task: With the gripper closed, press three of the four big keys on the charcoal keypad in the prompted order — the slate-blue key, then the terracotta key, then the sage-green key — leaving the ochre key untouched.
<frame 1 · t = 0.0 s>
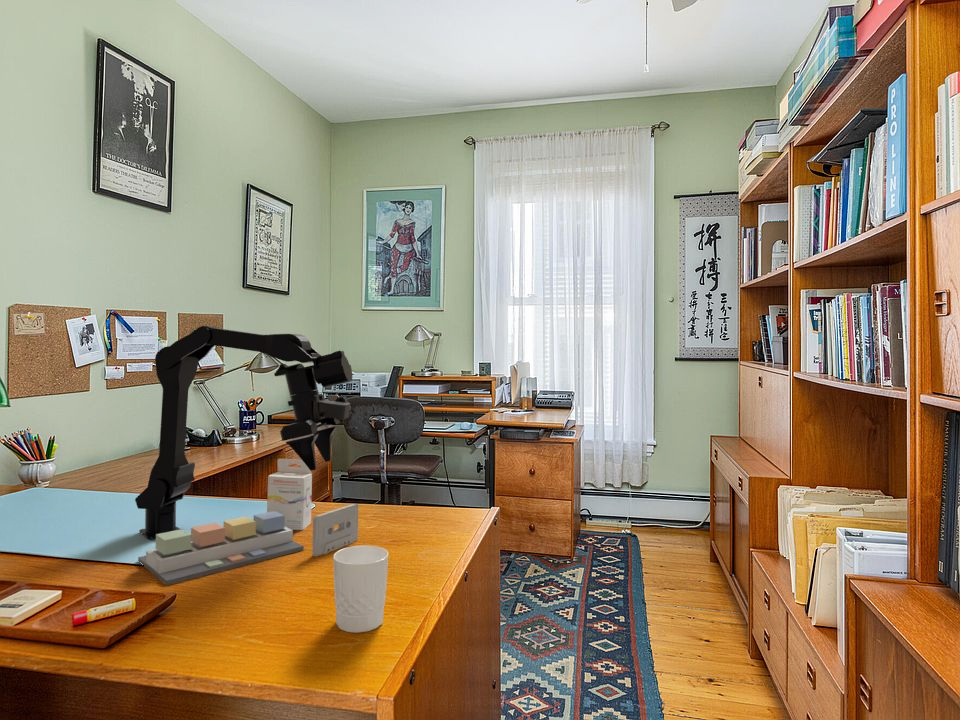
hand: (321, 465, 120), 15 cm above the table, tool pointing down, fingers open, 9 cm apart
cassette: (336, 548, 116), on the table
key ochre: (239, 527, 112), point 5 cm above the table, slide at 0.0 cm
white cup: (360, 623, 84), on the table
key slate: (269, 521, 117), point 5 cm above the table, slide at 0.0 cm
key terracotta: (207, 534, 108), point 5 cm above the table, slide at 0.0 cm
keypad base: (223, 555, 110), on the table
ink cartridge box: (289, 527, 129), on the table
key sage: (173, 541, 104), point 5 cm above the table, slide at 0.0 cm
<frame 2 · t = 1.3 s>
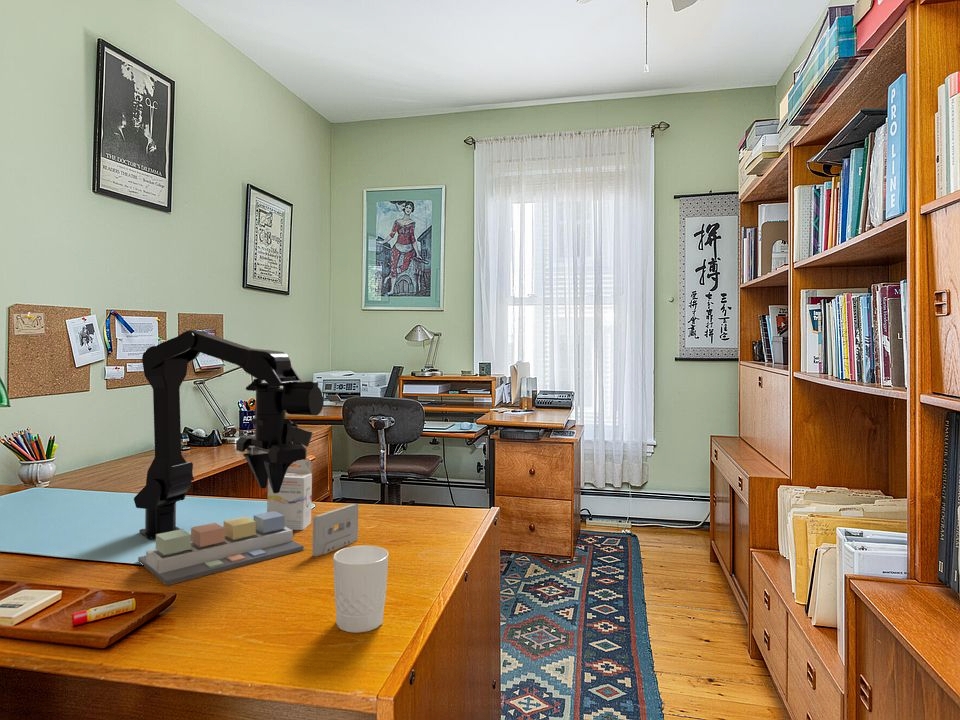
hand: (269, 490, 117), 11 cm above the table, tool pointing down, fingers open, 5 cm apart
nothing on the table moved.
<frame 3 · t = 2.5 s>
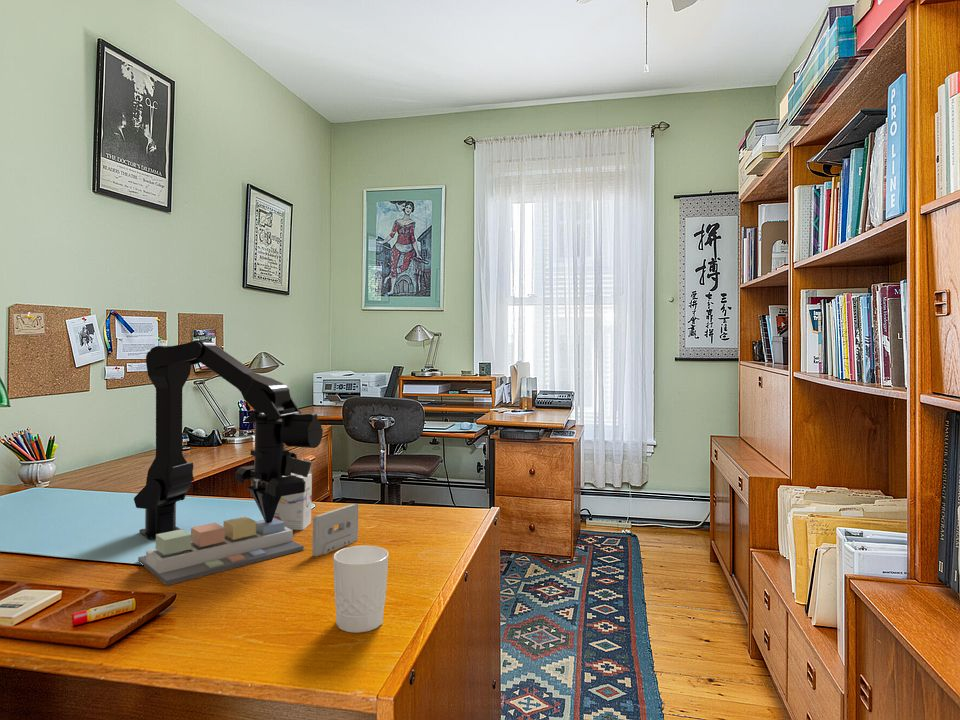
hand: (268, 522, 117), 5 cm above the table, tool pointing down, fingers closed, pressing on key slate
key slate: (268, 528, 117), point 3 cm above the table, slide at 1.4 cm, touching gripper
everything else where it was.
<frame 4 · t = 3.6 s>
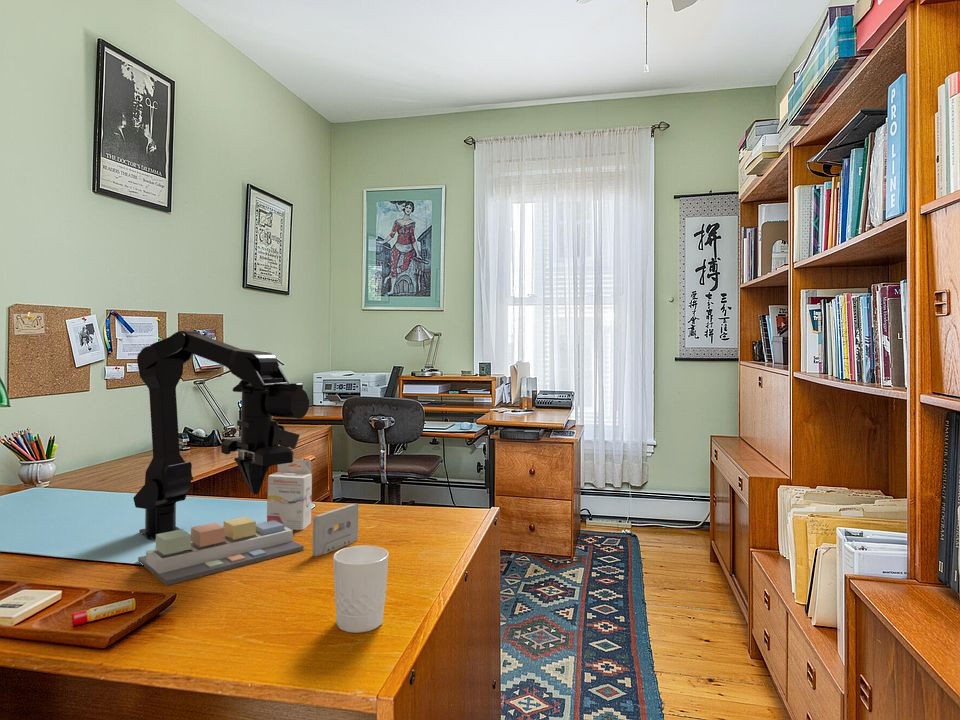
hand: (255, 493, 115), 11 cm above the table, tool pointing down, fingers closed
key slate: (268, 531, 117), point 3 cm above the table, slide at 1.9 cm
everything else where it was.
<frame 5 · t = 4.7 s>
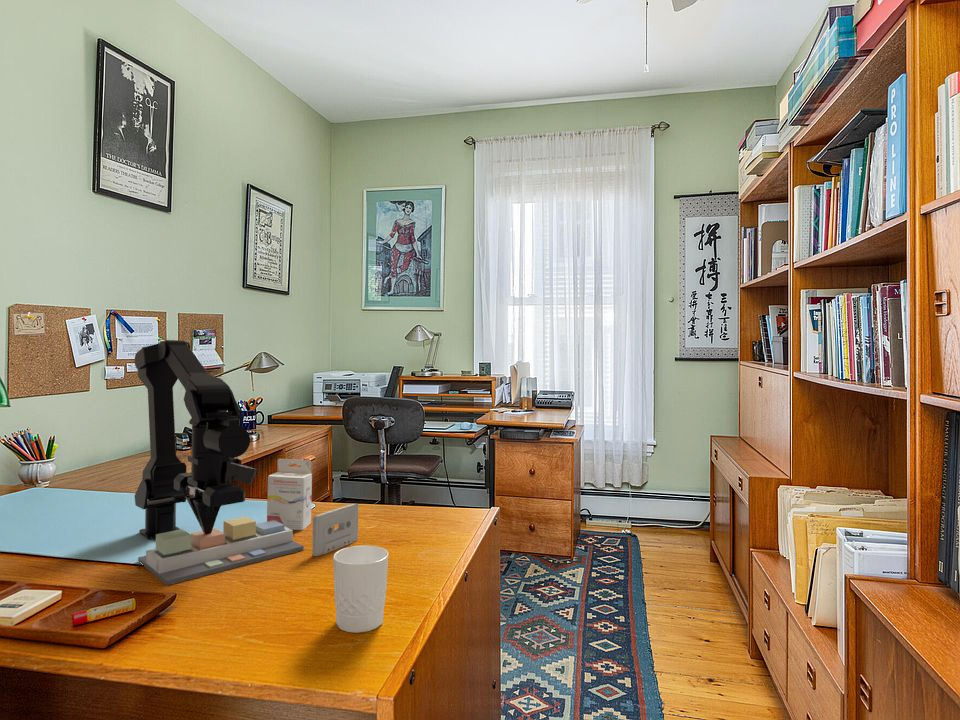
hand: (207, 533, 108), 5 cm above the table, tool pointing down, fingers closed, pressing on key terracotta
key terracotta: (207, 540, 108), point 4 cm above the table, slide at 1.1 cm, touching gripper
everything else where it was.
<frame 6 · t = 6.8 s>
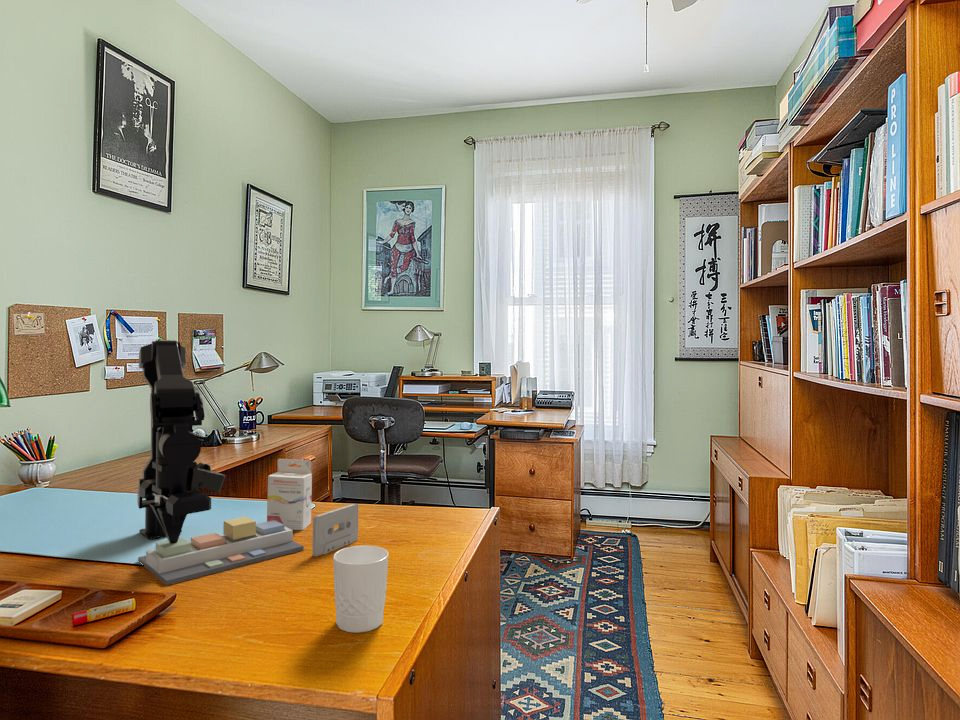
hand: (173, 542, 104), 4 cm above the table, tool pointing down, fingers closed, pressing on key sage
key terracotta: (207, 544, 108), point 3 cm above the table, slide at 1.9 cm
key sage: (173, 550, 104), point 3 cm above the table, slide at 1.5 cm, touching gripper
everything else where it was.
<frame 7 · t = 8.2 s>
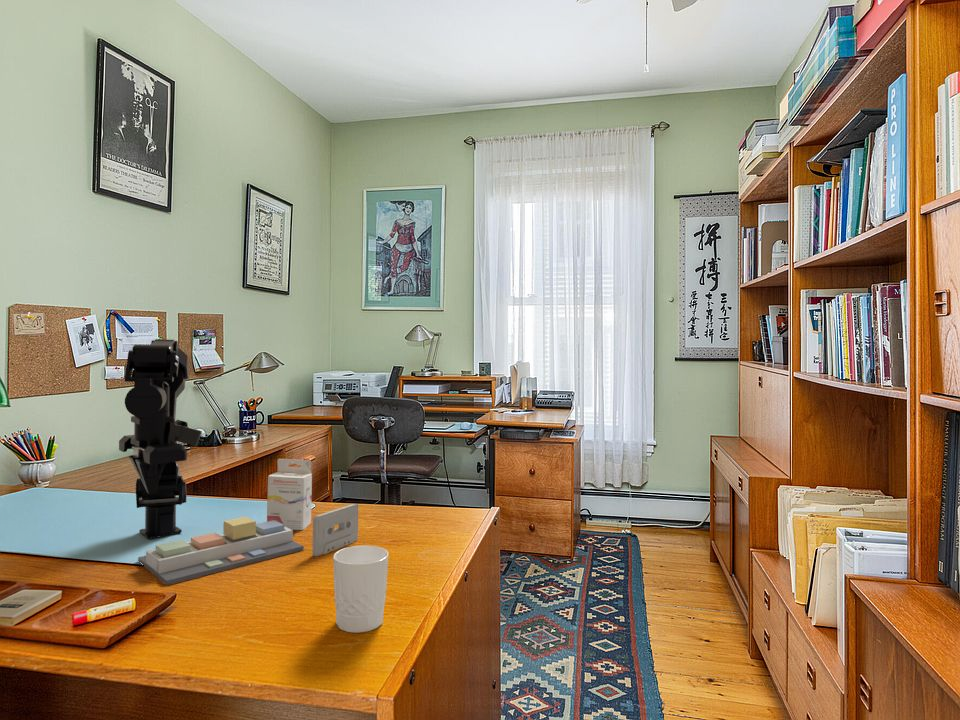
hand: (151, 493, 109), 12 cm above the table, tool pointing down, fingers closed
key sage: (173, 552, 104), point 3 cm above the table, slide at 1.9 cm
everything else where it was.
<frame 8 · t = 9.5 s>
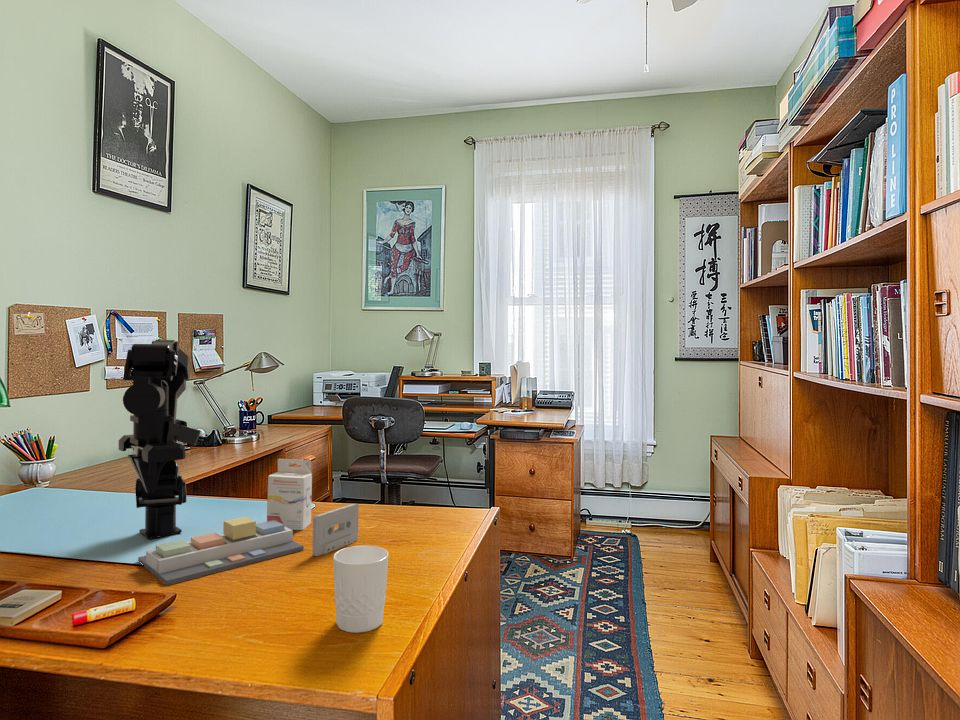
hand: (150, 492, 109), 12 cm above the table, tool pointing down, fingers closed
nothing on the table moved.
at the end: key slate slide at 1.9 cm; key terracotta slide at 1.9 cm; key sage slide at 1.9 cm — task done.
